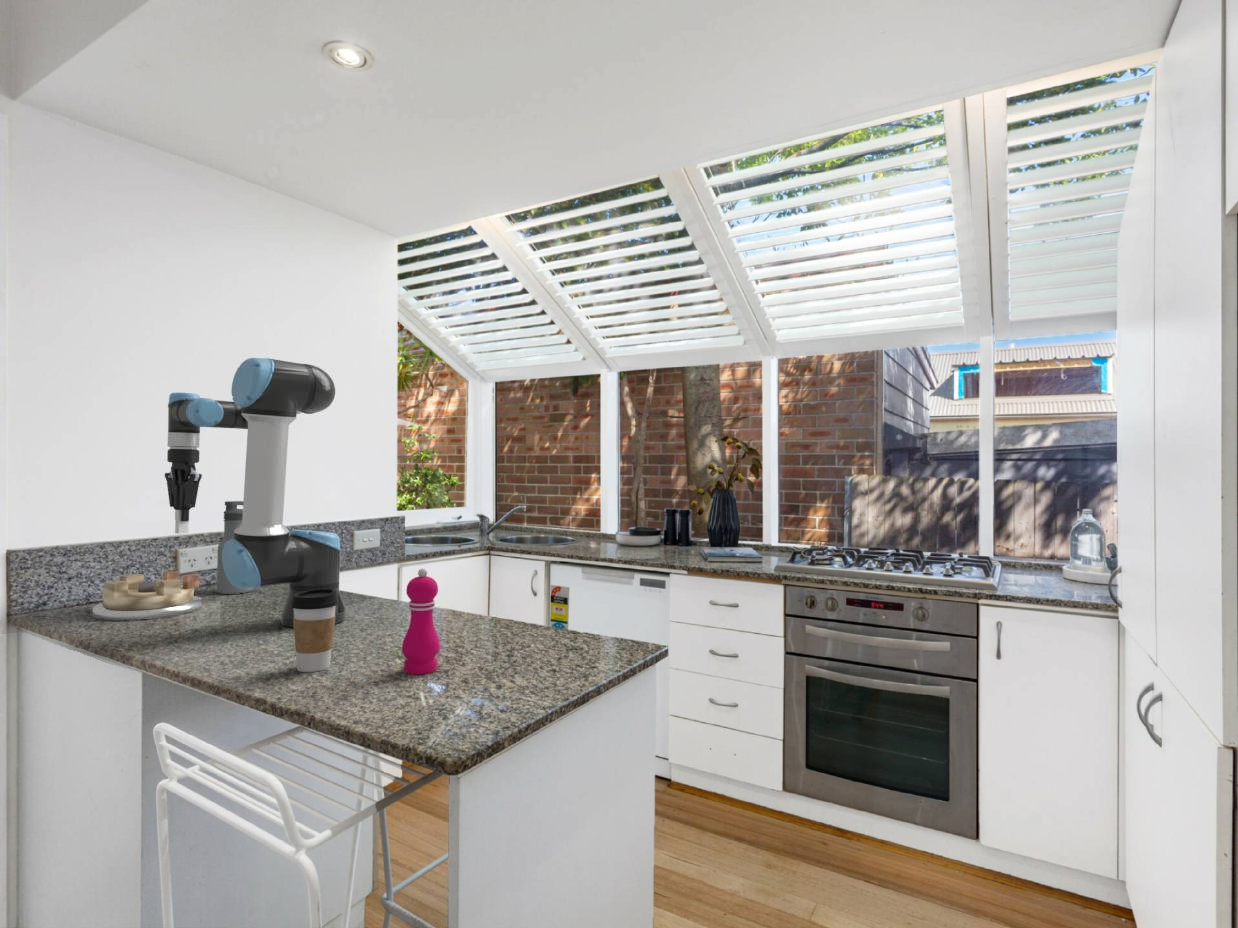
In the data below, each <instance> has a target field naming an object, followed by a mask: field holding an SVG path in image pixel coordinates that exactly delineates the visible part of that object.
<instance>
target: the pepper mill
mask: <svg viewBox="0 0 1238 928" xmlns="http://www.w3.org/2000/svg"><path fill="white" fill-rule="evenodd" d="M417 575H418V576H415V577H413V578H412V579H410V580H409V582H408V583H407V585H406V595H407V597H408V598H409V600H410V601H408V605H409V606H408V609H409V610H410V623H409V626H408V629H407V631H406V634H405V636H404V638H403V642H402V645H401V652H402V654H403V656H404V657H405V658H406V660H405V661H404V663H403V671H404V672H405V673H406V674H409V675H427V674H430V673H434V672H435V670H436V671H437V669H438V660H437V659H438V658H435V657H436V656H437V655H438V654H439V653H440V650H441V642H440V638H439V636H438V633H437V631H436V627H435V624H434V617H433V614H434V613H433V612H434V609H435V608H436V605H435V604H436V600H434V599H435V598H436V597H437V595H438V593H439V585H438V583H437V581H436V580H435V578H432V576H431V577H430V576H428V570H427V569H426V568H423V567H422V568H420V569H419V570H417Z"/></svg>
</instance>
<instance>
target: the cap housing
mask: <svg viewBox="0 0 1238 928" xmlns="http://www.w3.org/2000/svg"><path fill="white" fill-rule="evenodd" d="M202 607H203V598H202V597H200V596H197V595H196V596H195V595H194V599H193V600H192V601H190V602H188V603H184V604H180V605H175V606H169V607H162V608H153V609H140V610H114V609H107V608H104V607H103V602H101V603H98V604H96V605H94V606H93V607H92V618H94V619H97V620H100V619H101V620H103V621H109V620H110V621H112V622H114V621H115V620H116V621H115V622H120V620H132V621H140V620H139V619H147V620H156V619H155V618H157V619H163V618H171V617H170V616H172V617H176V616H177V617H178V616H181V614H183V615H187V614H190V613H189V612H191V613H193V612H197V611H198V610H200V609H202ZM196 610H197V611H196ZM113 620H114V621H113ZM118 620H119V621H118Z"/></svg>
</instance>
